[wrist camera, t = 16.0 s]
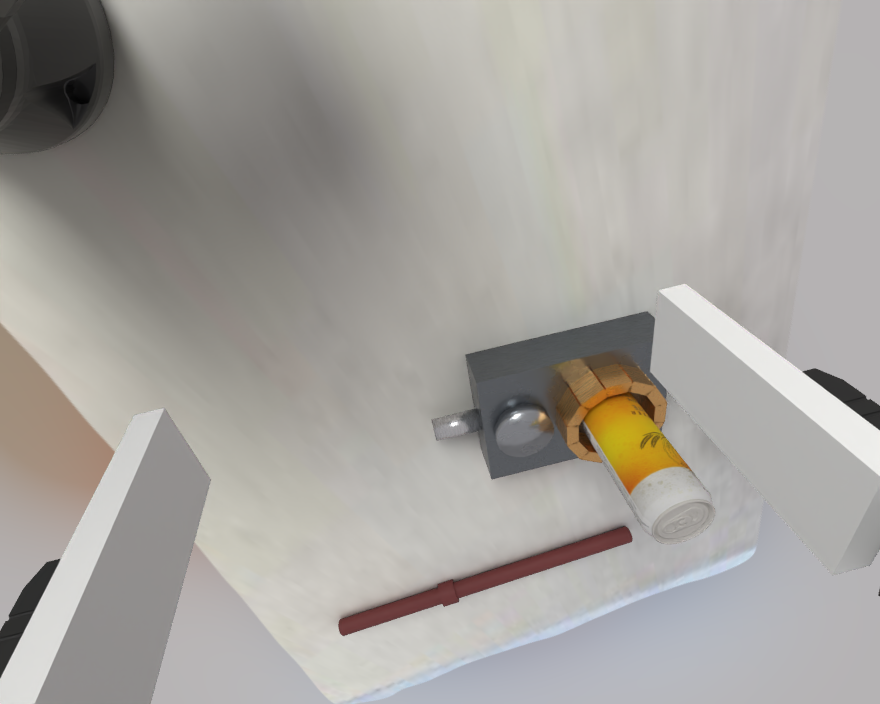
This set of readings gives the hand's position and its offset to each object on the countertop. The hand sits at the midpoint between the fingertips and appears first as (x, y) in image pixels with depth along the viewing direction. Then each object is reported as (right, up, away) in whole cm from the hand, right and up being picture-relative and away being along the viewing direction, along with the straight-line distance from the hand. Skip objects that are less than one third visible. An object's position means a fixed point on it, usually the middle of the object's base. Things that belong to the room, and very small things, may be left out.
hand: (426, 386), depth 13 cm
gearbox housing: (+11, -3, +43) cm, 45 cm away
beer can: (+18, -5, +39) cm, 43 cm away
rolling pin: (+7, -32, +62) cm, 70 cm away
